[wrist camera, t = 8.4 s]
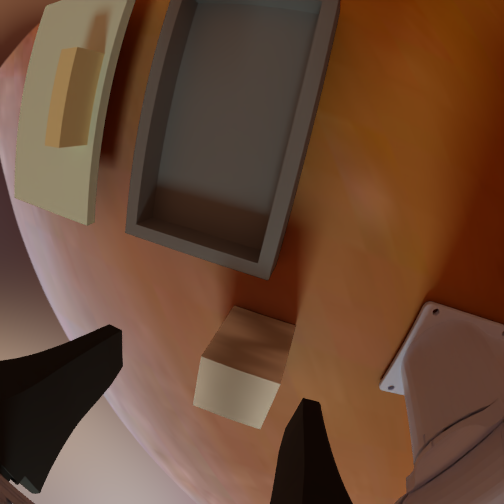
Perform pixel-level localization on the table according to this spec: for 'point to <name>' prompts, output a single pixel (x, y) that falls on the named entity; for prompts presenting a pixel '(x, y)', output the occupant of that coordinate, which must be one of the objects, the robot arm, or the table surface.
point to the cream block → (243, 366)
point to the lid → (68, 105)
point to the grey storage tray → (228, 126)
